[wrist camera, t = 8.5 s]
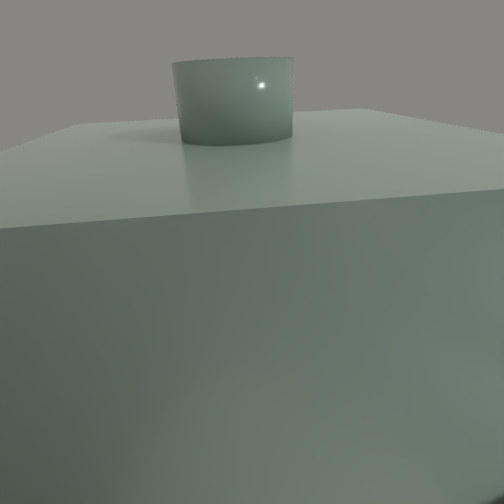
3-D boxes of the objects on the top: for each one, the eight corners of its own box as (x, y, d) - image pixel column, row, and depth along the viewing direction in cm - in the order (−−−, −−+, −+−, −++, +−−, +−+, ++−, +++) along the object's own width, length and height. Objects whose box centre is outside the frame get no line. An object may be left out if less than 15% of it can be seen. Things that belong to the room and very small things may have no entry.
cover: (336, 402, 16) (366, 61, 10) (448, 675, 8) (794, 15, 3) (150, 427, 15) (66, 75, 9) (101, 746, 8) (-429, 57, 2)
